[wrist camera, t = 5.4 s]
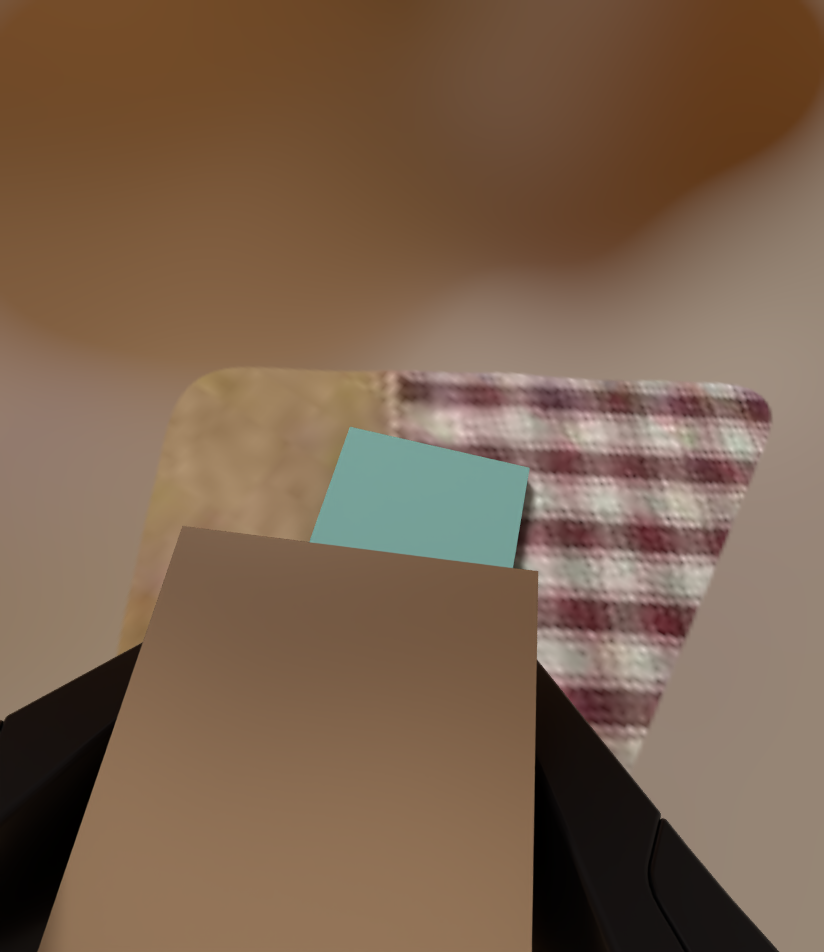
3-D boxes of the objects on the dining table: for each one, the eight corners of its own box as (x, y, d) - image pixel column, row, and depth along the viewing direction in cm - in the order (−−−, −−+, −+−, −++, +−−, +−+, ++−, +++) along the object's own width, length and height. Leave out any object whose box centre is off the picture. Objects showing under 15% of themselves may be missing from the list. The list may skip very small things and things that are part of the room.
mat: (499, 630, 20) (503, 628, 19) (301, 578, 21) (297, 575, 20) (525, 474, 23) (529, 467, 22) (351, 434, 24) (350, 426, 23)
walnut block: (440, 794, 13) (529, 1100, 3) (296, 773, 13) (18, 1011, 4) (453, 640, 14) (538, 571, 5) (325, 623, 14) (182, 525, 5)
